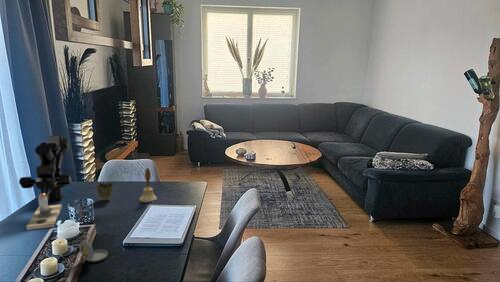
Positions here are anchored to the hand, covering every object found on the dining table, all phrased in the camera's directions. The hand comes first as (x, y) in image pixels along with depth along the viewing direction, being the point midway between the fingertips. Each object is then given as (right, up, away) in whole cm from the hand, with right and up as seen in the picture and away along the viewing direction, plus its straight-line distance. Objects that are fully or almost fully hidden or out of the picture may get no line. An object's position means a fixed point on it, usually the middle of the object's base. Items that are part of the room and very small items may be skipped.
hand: (44, 198), depth 140 cm
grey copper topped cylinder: (+1, -7, -1) cm, 7 cm away
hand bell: (+37, -5, +24) cm, 44 cm away
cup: (+17, -4, +21) cm, 27 cm away
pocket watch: (+34, -16, -28) cm, 47 cm away
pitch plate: (0, -8, 0) cm, 8 cm away
